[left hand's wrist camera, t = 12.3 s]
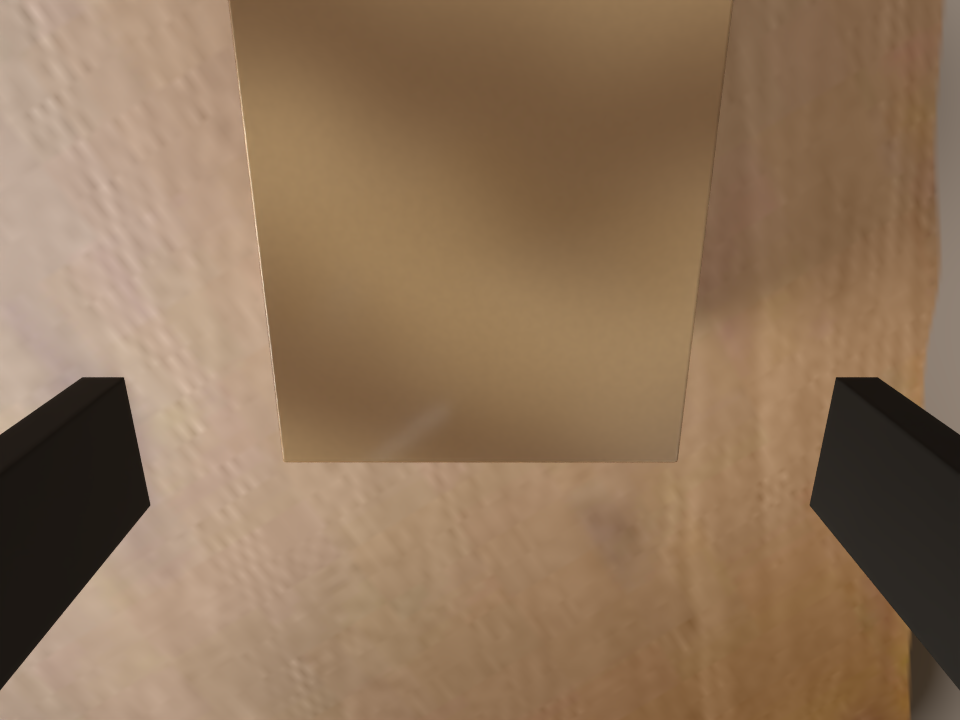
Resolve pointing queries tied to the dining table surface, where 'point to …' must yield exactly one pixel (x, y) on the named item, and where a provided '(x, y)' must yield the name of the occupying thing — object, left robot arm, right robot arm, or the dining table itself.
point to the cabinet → (480, 221)
